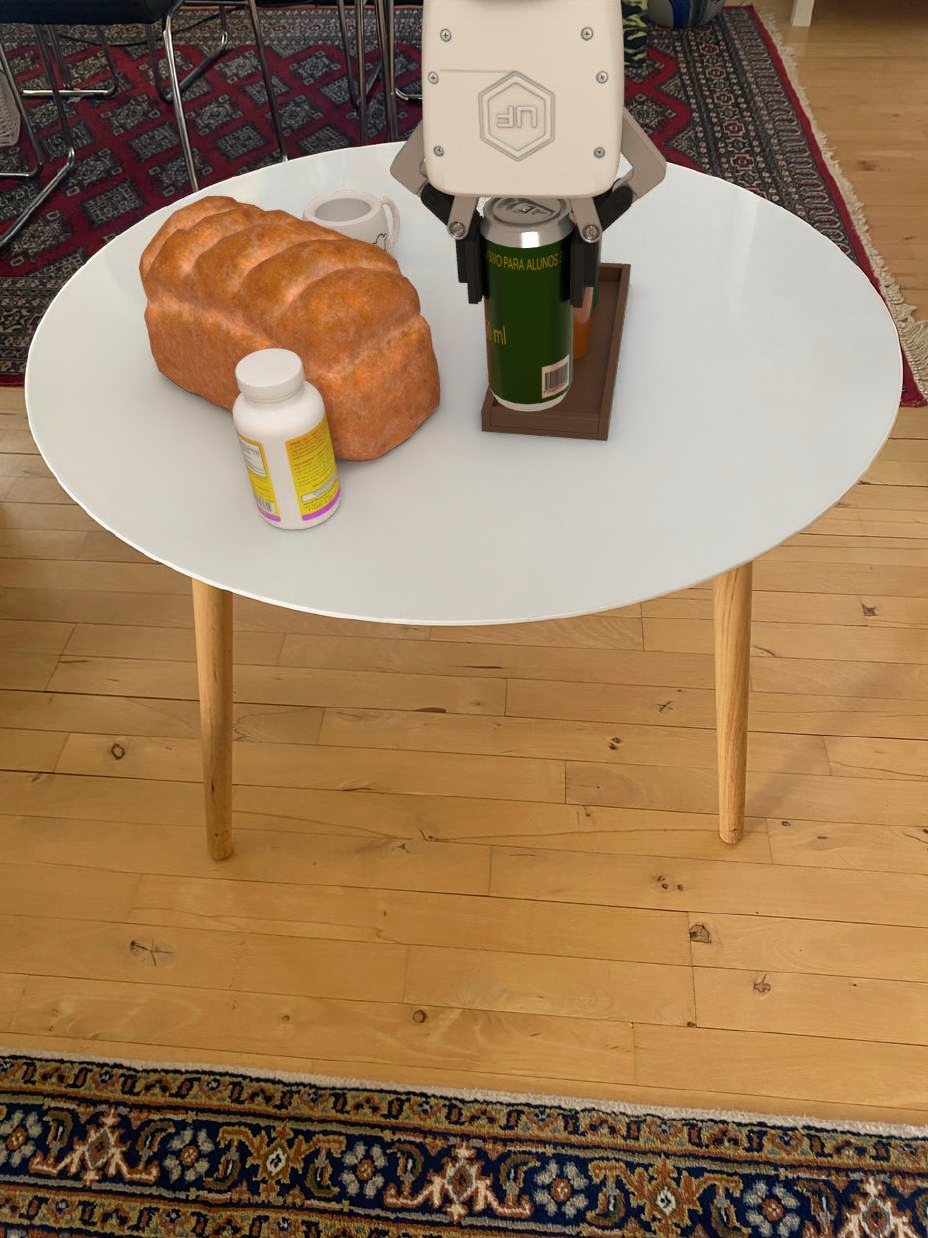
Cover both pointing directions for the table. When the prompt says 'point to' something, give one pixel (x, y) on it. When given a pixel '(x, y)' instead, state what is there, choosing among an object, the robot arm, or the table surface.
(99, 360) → the table surface
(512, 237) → the beer can
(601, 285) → the tray
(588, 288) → the amber bottle
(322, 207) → the mug
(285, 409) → the supplement bottle
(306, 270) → the bread
